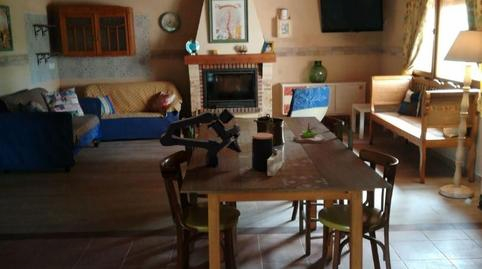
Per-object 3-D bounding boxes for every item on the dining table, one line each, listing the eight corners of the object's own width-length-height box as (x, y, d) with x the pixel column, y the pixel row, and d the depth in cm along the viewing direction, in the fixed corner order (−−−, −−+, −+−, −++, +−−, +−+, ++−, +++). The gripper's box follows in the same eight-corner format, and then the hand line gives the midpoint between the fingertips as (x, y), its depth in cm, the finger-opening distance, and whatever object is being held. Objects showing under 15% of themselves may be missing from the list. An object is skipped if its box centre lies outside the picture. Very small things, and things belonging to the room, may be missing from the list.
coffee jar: (257, 165, 248) (257, 132, 244) (275, 167, 244) (276, 133, 240) (248, 170, 239) (248, 136, 235) (267, 173, 234) (267, 138, 230)
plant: (323, 137, 312) (324, 120, 310) (324, 144, 293) (325, 126, 291) (293, 136, 315) (294, 120, 312) (292, 143, 296) (293, 126, 294)
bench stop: (267, 175, 231) (267, 153, 228) (276, 164, 249) (277, 144, 247) (273, 176, 230) (273, 154, 227) (282, 164, 248) (282, 144, 246)
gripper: (224, 123, 232) (245, 146, 231) (236, 116, 250) (256, 138, 249) (210, 137, 237) (230, 160, 236) (223, 130, 254) (242, 151, 253)
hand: (240, 152), depth 243 cm, fingers closed
